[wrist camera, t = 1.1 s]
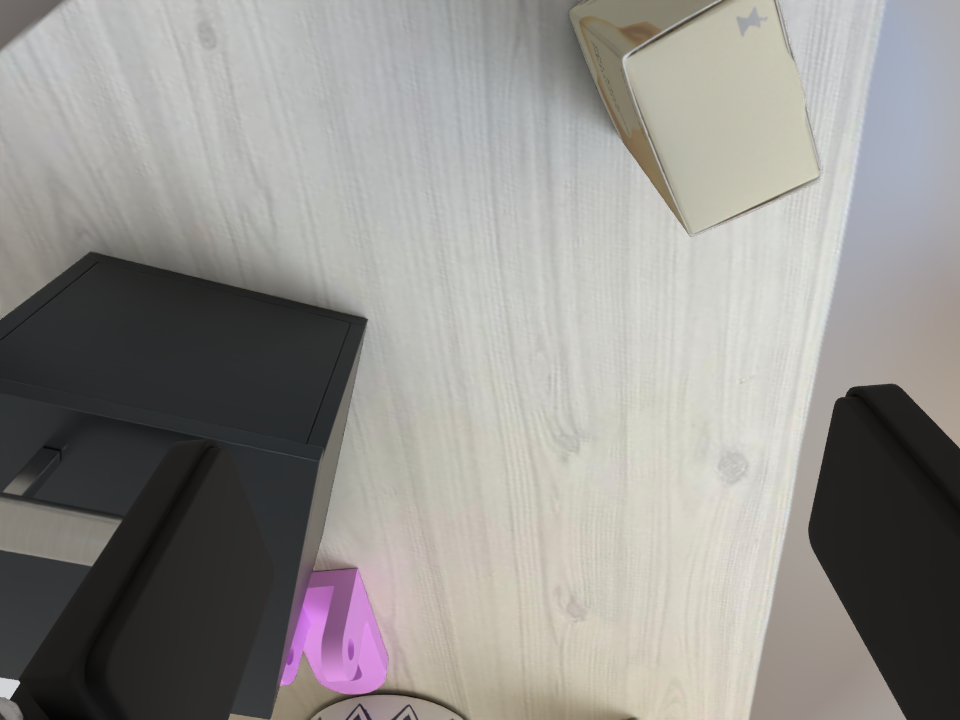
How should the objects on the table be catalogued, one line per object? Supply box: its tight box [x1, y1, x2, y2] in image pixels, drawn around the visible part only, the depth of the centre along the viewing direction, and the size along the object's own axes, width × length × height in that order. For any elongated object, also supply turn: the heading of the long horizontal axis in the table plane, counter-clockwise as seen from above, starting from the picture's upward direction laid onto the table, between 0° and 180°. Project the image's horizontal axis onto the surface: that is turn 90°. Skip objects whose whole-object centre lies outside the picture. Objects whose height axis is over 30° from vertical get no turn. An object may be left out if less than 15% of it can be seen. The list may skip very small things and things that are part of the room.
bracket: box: [280, 568, 388, 694], centre depth 47 cm, size 13×6×7 cm, turn 8°
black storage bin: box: [0, 252, 368, 701], centre depth 34 cm, size 18×15×12 cm
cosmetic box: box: [569, 0, 823, 237], centre depth 24 cm, size 6×4×12 cm
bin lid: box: [0, 379, 324, 719], centre depth 27 cm, size 18×15×5 cm
